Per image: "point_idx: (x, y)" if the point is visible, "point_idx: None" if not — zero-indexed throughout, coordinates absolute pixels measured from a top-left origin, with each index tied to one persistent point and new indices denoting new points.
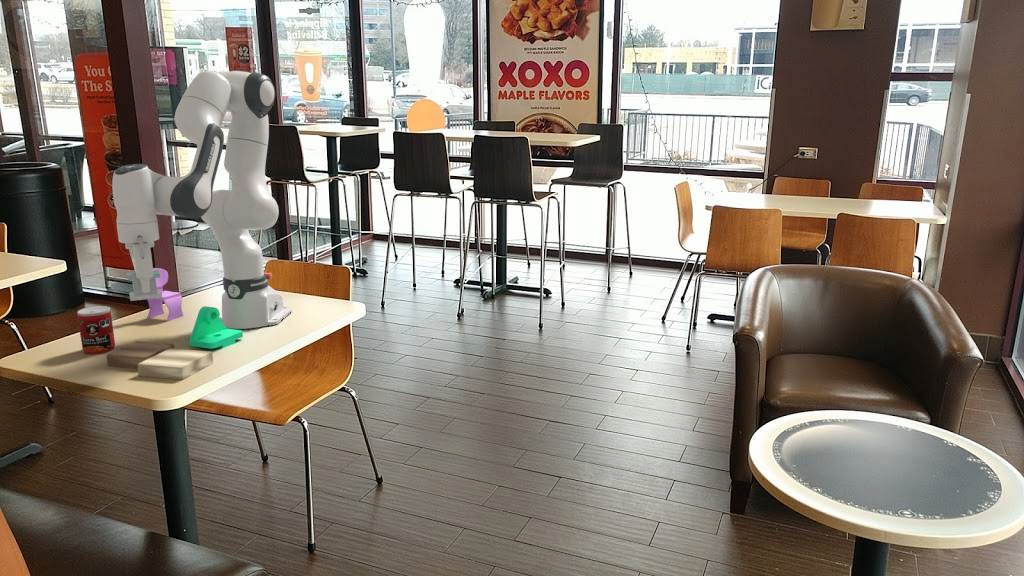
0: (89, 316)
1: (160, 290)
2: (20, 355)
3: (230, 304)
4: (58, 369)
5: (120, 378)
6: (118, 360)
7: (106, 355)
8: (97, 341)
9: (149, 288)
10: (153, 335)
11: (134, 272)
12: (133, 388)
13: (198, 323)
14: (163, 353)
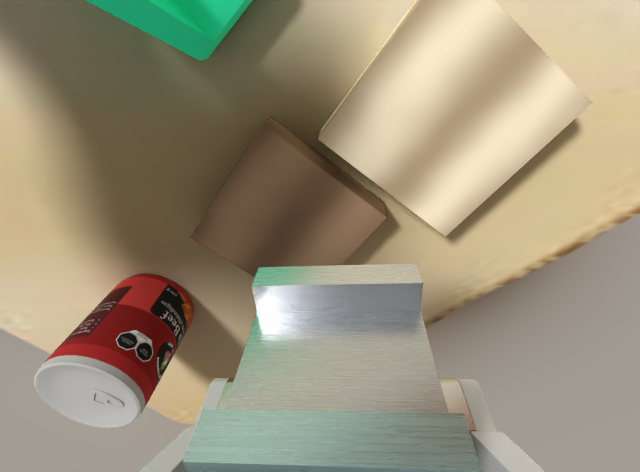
0: (145, 399)
1: (298, 287)
2: (164, 412)
3: None
4: None
5: (428, 259)
6: None
7: None
8: (180, 326)
9: (482, 402)
10: (30, 179)
11: None
12: (538, 231)
13: (143, 5)
14: (370, 162)
